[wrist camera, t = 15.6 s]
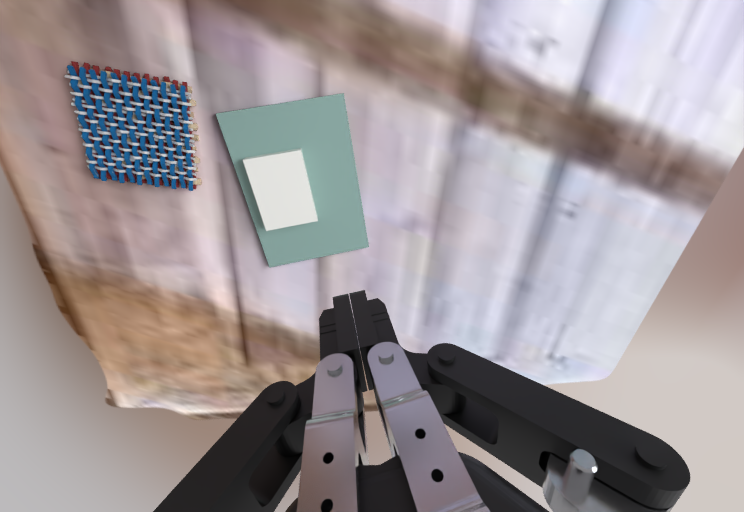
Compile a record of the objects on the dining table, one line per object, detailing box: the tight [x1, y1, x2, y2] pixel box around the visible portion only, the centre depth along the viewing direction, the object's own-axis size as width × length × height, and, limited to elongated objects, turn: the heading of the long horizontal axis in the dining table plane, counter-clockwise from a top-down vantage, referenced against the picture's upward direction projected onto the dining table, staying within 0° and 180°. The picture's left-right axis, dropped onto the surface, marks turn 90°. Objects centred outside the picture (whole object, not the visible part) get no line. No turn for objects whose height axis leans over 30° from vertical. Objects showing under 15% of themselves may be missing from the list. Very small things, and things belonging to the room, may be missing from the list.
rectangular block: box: [243, 148, 318, 231], centre depth 34 cm, size 6×2×8 cm
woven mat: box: [64, 61, 202, 191], centre depth 30 cm, size 10×11×2 cm
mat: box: [216, 93, 369, 267], centre depth 35 cm, size 18×13×1 cm
